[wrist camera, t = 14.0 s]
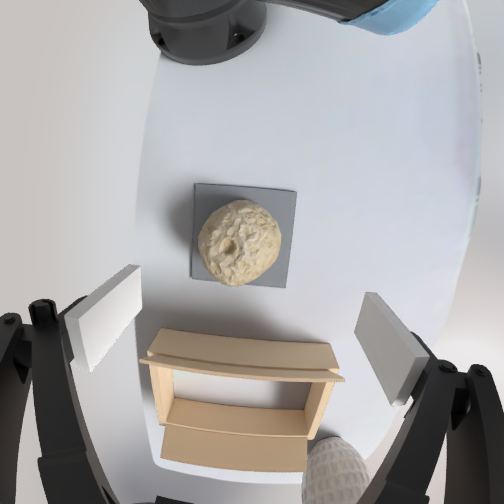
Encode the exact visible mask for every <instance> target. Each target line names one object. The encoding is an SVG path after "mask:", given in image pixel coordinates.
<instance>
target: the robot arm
mask: <svg viewBox="0 0 504 504" xmlns="http://www.w3.org/2000/svg"><path fill="white" fill-rule="evenodd" d="M139 1H140V2H141V3H142V4H143V6H144V7H145V8H146V9H147V11H148V19H149V29H150V35H151V37H152V40H153V41H154V43H155V44H156V46H157V47H158V48H159V49H160V50H161V51H162V53H164V54H165V55H166V56H167V57H169V58H170V59H172V60H174V61H177V62H180V63H183V64H188V65H210V64H216V63H220V62H224V61H227V60H229V59H232V58H234V57H236V56H238V55H240V54H242V53H243V52H245V51H246V50H248V49H249V48H250V47H251V46H252V45H254V44H255V43H256V41H257V40H258V39H259V38H260V36H261V35H262V33H263V31H264V28H265V25H266V12H267V11H266V4H265V2H268V3H273V4H278V5H283V6H288V7H292V8H296V9H300V10H304V11H307V12H311V13H314V14H318V15H321V16H324V17H327V18H330V19H333V20H336V21H337V22H338V23H340V24H344V25H353V26H356V27H359V28H362V29H364V30H367V31H370V32H373V33H375V34H379V35H393V34H397V33H400V32H403V31H406V30H408V29H409V28H411V27H413V26H414V25H416V24H417V23H418V22H419V21H421V20H422V19H423V18H424V17H425V16H426V15H427V14H428V13H429V12H430V11H431V10H432V8H433V7H434V6H435V5H436V3H437V2H438V1H439V0H139ZM28 308H29V313H30V317H31V321H32V325H30V324H23V323H22V319H21V316H20V315H19V314H17V313H6V314H4V315H3V316H1V317H0V504H15V496H16V475H17V474H16V473H17V461H18V451H19V443H20V435H21V429H22V422H23V417H24V411H25V406H26V402H27V397H28V393H29V389H30V384H31V381H32V383H33V396H34V407H35V416H36V423H37V430H38V436H39V442H40V447H41V452H42V457H39V458H38V468H39V472H40V477H41V480H42V484H43V488H44V491H45V494H46V498H47V501H48V504H120V503H119V501H118V499H117V498H116V496H115V495H114V493H113V491H112V489H111V487H110V485H109V482H108V480H107V478H106V476H105V474H104V472H103V469H102V467H101V464H100V462H99V459H98V457H97V454H96V452H95V449H94V446H93V444H92V441H91V438H90V435H89V432H88V429H87V426H86V423H85V420H84V417H83V413H82V410H81V406H80V403H79V399H78V395H77V391H76V387H75V383H74V379H73V375H72V370H71V366H70V362H71V361H72V360H73V359H74V360H75V364H76V367H77V369H80V370H83V371H86V372H89V373H91V372H92V370H93V369H94V368H95V367H96V365H97V364H98V363H99V361H100V360H101V359H102V358H103V356H104V355H105V354H106V352H107V351H108V350H109V349H110V347H111V346H112V345H113V344H114V342H115V341H116V340H117V339H118V337H119V336H120V335H121V334H122V332H123V331H124V330H125V329H126V327H127V326H128V325H129V324H130V322H131V321H132V320H133V319H134V318H135V316H136V315H137V314H138V313H139V312H140V310H141V309H142V293H141V266H137V265H130V264H129V265H128V266H126V267H125V268H124V269H122V270H121V271H120V272H118V273H117V274H116V275H114V276H113V277H112V278H110V279H109V280H108V281H106V282H105V283H104V284H103V285H101V286H100V287H99V288H98V289H96V290H95V291H94V292H92V293H91V294H90V295H88V296H84V297H81V298H79V299H77V300H76V301H75V302H73V304H71V305H70V306H68V308H66V309H64V310H63V311H62V312H61V313H59V314H57V310H56V304H55V302H54V301H53V300H50V299H40V300H36V301H34V302H32V303H31V304H30V305H29V307H28ZM354 333H355V335H356V337H357V339H358V341H359V343H360V345H361V346H362V348H363V350H364V352H365V354H366V356H367V358H368V360H369V362H370V364H371V366H372V368H373V370H374V372H375V374H376V376H377V378H378V380H379V382H380V384H381V386H382V388H383V390H384V392H385V394H386V396H387V398H388V401H389V403H390V405H391V406H399V405H405V404H406V402H407V400H408V399H409V397H410V395H411V396H412V398H413V400H414V401H413V403H412V405H411V406H410V408H409V410H408V411H407V413H406V415H405V416H404V418H405V420H404V422H403V424H402V426H401V428H400V430H399V432H398V434H397V436H396V439H395V440H394V442H393V444H392V446H391V448H390V450H389V452H388V454H387V455H386V457H385V459H384V461H383V463H382V464H381V466H380V468H379V469H378V471H377V473H376V474H375V476H374V478H373V479H372V481H371V482H370V484H369V485H368V487H367V488H366V490H365V491H364V493H363V494H362V496H361V497H360V499H359V500H358V502H357V503H356V504H428V503H429V500H430V499H429V496H426V495H425V494H426V490H427V488H428V485H429V483H430V480H431V478H432V475H433V472H434V469H435V467H436V464H437V461H438V458H439V455H440V451H441V448H442V445H443V441H444V438H445V434H446V435H447V467H446V468H447V469H446V485H445V498H444V504H504V412H503V409H502V405H501V401H500V398H499V395H498V392H497V389H496V386H495V383H494V380H493V377H492V374H491V372H490V371H489V370H488V369H487V368H486V367H485V366H483V365H479V364H473V365H471V367H470V369H469V370H468V372H467V373H464V372H458V370H457V368H456V366H455V365H454V364H452V363H451V362H449V361H446V360H438V359H437V358H436V357H435V355H434V354H433V353H432V352H431V350H430V349H429V348H427V345H426V344H425V343H424V342H423V341H422V339H421V338H420V337H419V336H418V335H416V334H415V333H413V332H410V331H409V330H408V329H407V327H406V326H405V325H404V324H403V323H402V321H401V320H400V319H399V318H398V317H397V315H396V314H395V313H394V312H393V311H392V310H391V308H390V307H389V306H388V305H387V304H386V303H385V302H384V300H383V299H382V298H381V297H380V296H379V295H378V294H377V293H373V292H365V296H364V300H363V303H362V307H361V311H360V314H359V318H358V321H357V324H356V328H355V331H354ZM136 504H193V503H188V502H183V501H178V500H173V499H169V498H165V497H161V496H157V497H156V501H155V503H136Z"/></svg>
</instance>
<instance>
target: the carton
mask: <svg viewBox="0 0 504 504" xmlns="http://www.w3.org/2000/svg"><path fill="white" fill-rule="evenodd" d="M147 354H148V357H145V358H141V359H139V363H144V364H149V369H150V376H151V382H152V388H153V394H154V400H155V405H156V410H157V416H158V420H159V425H162V426H165V432H164V438H163V444H162V450H161V456H160V458H163V459H167V460H172V461H177V462H182V463H187V464H193V465H199V466H205V467H213V468H221V469H230V470H241V471H255V472H306V469H307V440H314V437H315V435H316V433H317V430H318V428H319V425H320V422H321V420H322V417H323V415H324V412H325V409H326V407H327V404H328V401H329V398H330V395H331V393H332V390H333V387H334V384H335V382H345V378H343V377H341V376H339V375H338V371H339V366H338V363H337V361H336V358H335V355H334V353H333V350H332V347H331V345H330V344H326V343H300V342H282V341H268V340H255V339H244V338H234V337H225V336H216V335H208V334H200V333H192V332H185V331H178V330H172V329H165V328H161V329H160V330H159V332H158V334H157V335H156V337H155V338H154V340H153V342H152V343H151V345H150V346H149V348H148V350H147ZM172 369H175V370H181V371H187V372H194V373H200V374H208V375H215V376H224V377H233V378H243V379H255V380H269V381H289V382H312V384H311V388H310V391H309V395H308V398H307V402H306V405H305V408H304V410H285V409H263V408H249V407H238V406H228V405H219V404H211V403H204V402H197V401H191V400H185V399H179V398H175V396H174V387H173V377H172Z"/></svg>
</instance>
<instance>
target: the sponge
mask: <svg viewBox="0 0 504 504" xmlns="http://www.w3.org/2000/svg"><path fill="white" fill-rule="evenodd" d="M280 245H281V232H280V229H279V226H278V224H277V221H276V220H274V219H273V218H272V216H271V214H270V213H269V212H268V211H267V210H265V209H264V208H263V207H261V206H260V205H259V204H256V203H254V202H251V201H249V200H236V201H233V202H231V203H228V204H226V206H224V205H223V206H222V207H221V208H219V209H218V210H216V211H214V212H213V213H212V214H211V216H210V217H209V219H207V221H206V222H205V224H204V225H203V227H202V231H201V232H200V234H199V236H198V248H199V252H200V254H201V261H202V265H203V266H204V268H205V269H206V270H207V271H208V272H209V273H210V275H212V276H214V277H215V278H216V279H217V280H218V281H219V282H220V283H222V284H224V285H227V286H241V285H243V284H246V283H248V282H250V281H252V280H254V279H256V278H257V277H259V276H260V275H261V274H262V273H264V272H265V271H266V270H267V269H268V268H270V266H271V265H272V264H273V263H274V262H275V261H276V258H277V257H278V253H279V250H280Z"/></svg>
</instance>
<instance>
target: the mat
mask: <svg viewBox="0 0 504 504" xmlns="http://www.w3.org/2000/svg"><path fill="white" fill-rule="evenodd" d="M296 198H297V192H291V191H281V190H271V189H261V188H249V187H237V186H224V185H208V184H196V188H195V204H194V223H193V249H192V279H196V280H205V281H214V282H219V281H218V280H217V279H216V278H215V277H214V276H212V275H210V273H209V272H208V271H207V270H206V269H205V268H204V266H203V265H202V261H201V254H200V252H199V248H198V236H199V234H200V232H201V231H202V227H203V225H204V224H205V222H206V221H207V219H209V217H210V216H211V214H212V213H213V212H214V211H216V210H218V209H219V208H221V207H222V206H223V205H224V206H226V204H228V203H231V202H233V201H236V200H249V201H251V202H254V203H256V204H259V205H260V206H261V207H263V208H264V209H265V210H267V211H268V212H269V213H270V214H271V216H272V218H273V219H274V220H276V221H277V224H278V226H279V229H280V232H281V245H280V250H279V253H278V257H277V258H276V261H275V262H274V263H273V264H272V265H271V266H270V268H268V269H267V270H266V271H265V272H264V273H262V274H261V275H260V276H259V277H257V278H256V279H254V280H252V281H250V282H248V283H246V284H245V285H256V286H267V287H279V288H286V281H287V274H288V266H289V258H290V250H291V242H292V234H293V225H294V216H295V207H296Z"/></svg>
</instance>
